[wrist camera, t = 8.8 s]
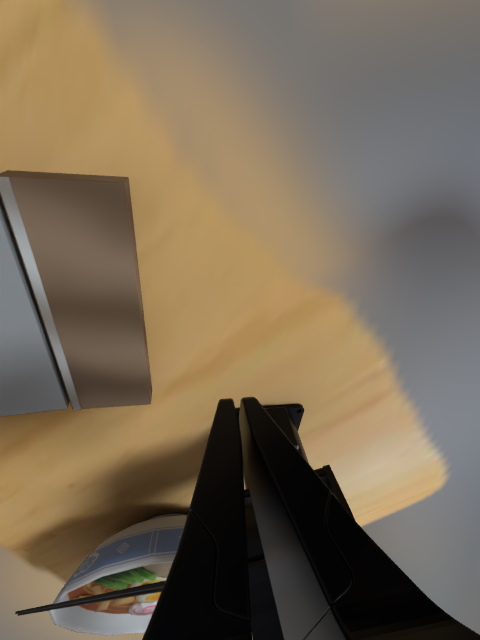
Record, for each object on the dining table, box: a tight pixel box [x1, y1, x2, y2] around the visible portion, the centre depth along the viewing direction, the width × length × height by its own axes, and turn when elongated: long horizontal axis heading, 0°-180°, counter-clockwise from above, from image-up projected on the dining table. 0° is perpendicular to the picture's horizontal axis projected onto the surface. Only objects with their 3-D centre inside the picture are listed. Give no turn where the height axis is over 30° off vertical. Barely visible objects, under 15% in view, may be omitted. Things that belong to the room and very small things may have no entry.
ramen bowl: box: [15, 513, 187, 635], centre depth 36 cm, size 25×23×8 cm
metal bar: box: [0, 170, 152, 410], centre depth 20 cm, size 16×6×2 cm, turn 175°
